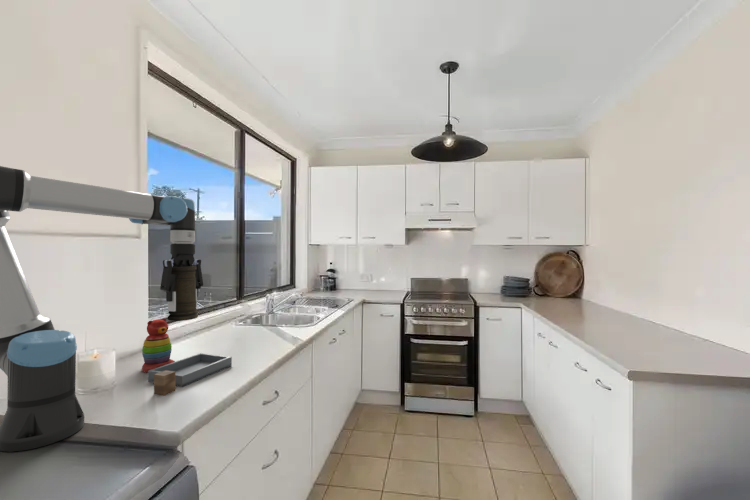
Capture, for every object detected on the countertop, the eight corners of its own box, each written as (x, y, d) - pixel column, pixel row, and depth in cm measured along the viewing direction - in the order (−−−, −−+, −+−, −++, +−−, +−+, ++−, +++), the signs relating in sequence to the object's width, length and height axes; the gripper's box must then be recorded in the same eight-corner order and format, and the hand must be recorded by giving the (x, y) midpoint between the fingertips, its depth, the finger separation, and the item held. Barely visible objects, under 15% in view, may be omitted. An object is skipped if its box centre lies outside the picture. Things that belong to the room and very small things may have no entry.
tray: (182, 387, 111) (182, 376, 112) (147, 381, 116) (147, 370, 116) (231, 366, 132) (231, 356, 132) (200, 362, 137) (200, 353, 137)
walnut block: (163, 396, 105) (163, 375, 105) (153, 394, 106) (154, 374, 106) (175, 391, 108) (175, 371, 109) (165, 389, 110) (165, 370, 110)
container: (202, 316, 125) (203, 265, 125) (186, 321, 116) (187, 266, 116) (179, 315, 126) (179, 265, 126) (161, 320, 117) (161, 266, 117)
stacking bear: (146, 373, 124) (147, 323, 124) (135, 368, 130) (136, 320, 130) (178, 366, 132) (179, 318, 133) (167, 361, 138) (167, 316, 139)
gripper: (163, 242, 110) (163, 314, 110) (214, 243, 129) (214, 305, 129) (146, 242, 112) (146, 313, 112) (198, 243, 132) (198, 304, 132)
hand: (182, 309), depth 121 cm, fingers closed on container, 8 cm apart
